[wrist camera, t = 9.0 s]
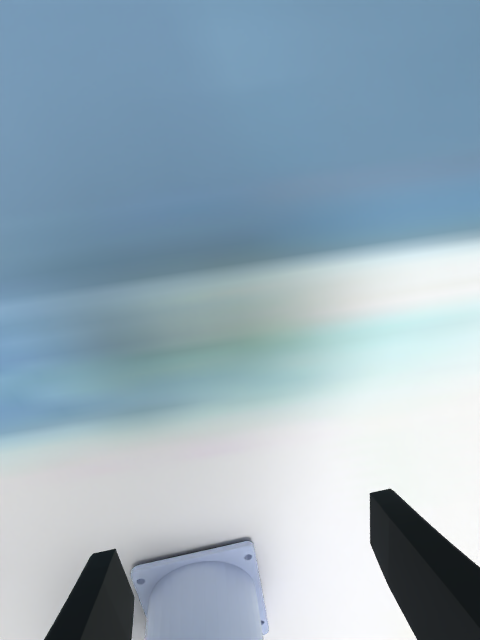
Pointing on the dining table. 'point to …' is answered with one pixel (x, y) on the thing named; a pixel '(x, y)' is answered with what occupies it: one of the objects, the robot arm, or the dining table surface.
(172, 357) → the dining table surface
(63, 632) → the robot arm
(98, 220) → the dining table surface
